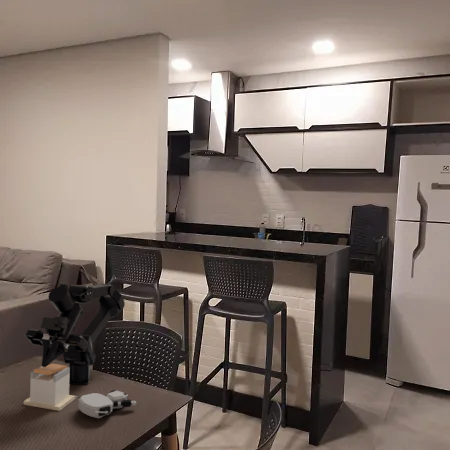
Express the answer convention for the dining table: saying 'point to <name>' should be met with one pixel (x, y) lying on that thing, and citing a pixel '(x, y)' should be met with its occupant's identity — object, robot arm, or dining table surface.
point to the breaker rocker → (50, 369)
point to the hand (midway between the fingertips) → (43, 366)
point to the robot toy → (103, 403)
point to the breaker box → (50, 390)
